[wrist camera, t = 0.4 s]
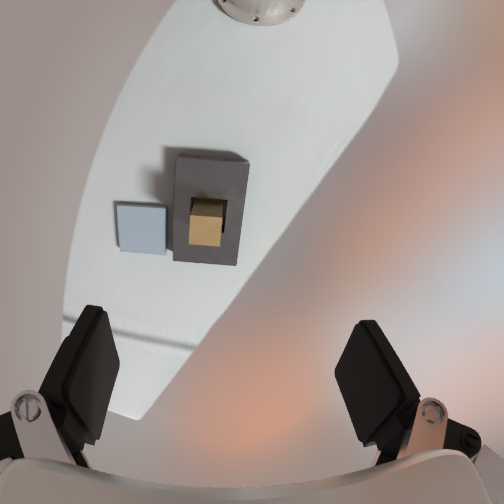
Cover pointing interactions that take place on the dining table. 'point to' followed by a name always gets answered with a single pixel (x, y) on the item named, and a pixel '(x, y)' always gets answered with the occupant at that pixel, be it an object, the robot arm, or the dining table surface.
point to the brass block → (206, 222)
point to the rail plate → (209, 186)
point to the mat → (142, 228)
